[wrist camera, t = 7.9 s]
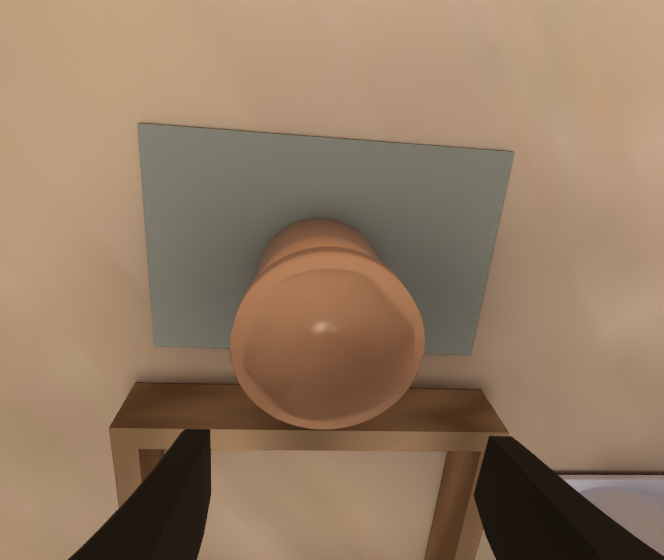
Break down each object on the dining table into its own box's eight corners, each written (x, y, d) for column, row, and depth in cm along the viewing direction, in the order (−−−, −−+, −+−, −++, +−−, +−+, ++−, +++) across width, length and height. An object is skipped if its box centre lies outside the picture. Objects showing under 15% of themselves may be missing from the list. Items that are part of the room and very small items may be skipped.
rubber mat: (512, 151, 17) (514, 151, 17) (468, 353, 21) (470, 355, 20) (139, 123, 16) (137, 123, 16) (155, 343, 19) (154, 346, 19)
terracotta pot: (394, 215, 18) (439, 263, 12) (377, 340, 20) (409, 431, 14) (252, 205, 17) (230, 251, 12) (248, 334, 19) (229, 427, 13)
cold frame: (481, 390, 21) (509, 432, 19) (429, 611, 27) (444, 669, 24) (135, 382, 20) (109, 427, 17) (157, 619, 26) (140, 682, 23)
